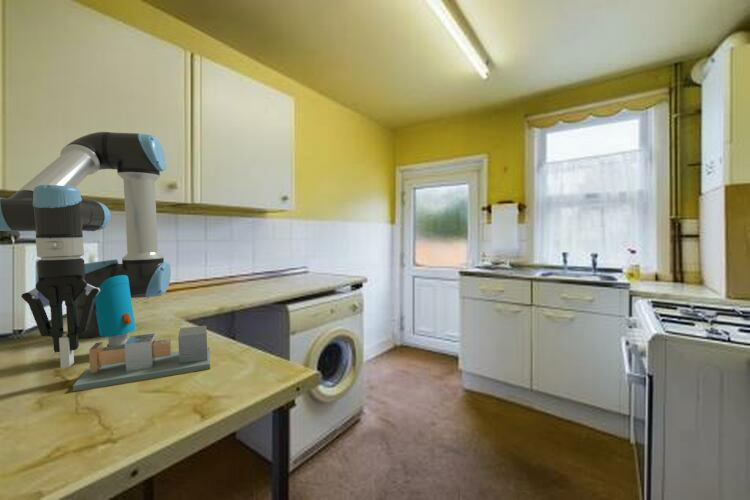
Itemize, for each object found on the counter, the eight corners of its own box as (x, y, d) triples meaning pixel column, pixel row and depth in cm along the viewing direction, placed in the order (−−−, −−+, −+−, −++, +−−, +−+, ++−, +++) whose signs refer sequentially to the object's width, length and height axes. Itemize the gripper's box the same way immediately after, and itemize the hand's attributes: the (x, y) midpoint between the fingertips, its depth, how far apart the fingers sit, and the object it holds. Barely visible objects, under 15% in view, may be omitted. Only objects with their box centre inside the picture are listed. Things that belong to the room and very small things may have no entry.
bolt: (97, 364, 80) (96, 342, 80) (171, 354, 87) (171, 333, 86) (90, 373, 75) (89, 349, 75) (169, 361, 82) (169, 339, 82)
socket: (181, 354, 89) (180, 328, 88) (207, 350, 91) (206, 325, 91) (179, 364, 82) (178, 336, 81) (207, 360, 84) (206, 333, 84)
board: (91, 368, 83) (91, 363, 83) (209, 351, 94) (209, 347, 94) (73, 391, 71) (72, 385, 71) (209, 368, 82) (209, 363, 82)
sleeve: (131, 362, 84) (130, 336, 83) (156, 358, 86) (154, 333, 85) (126, 372, 78) (124, 344, 77) (152, 368, 80) (151, 341, 80)
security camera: (113, 272, 98) (142, 273, 96) (116, 346, 99) (146, 348, 97) (82, 276, 90) (114, 277, 88) (87, 356, 91) (118, 359, 89)
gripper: (11, 260, 68) (19, 377, 69) (94, 258, 74) (99, 365, 75) (28, 258, 75) (35, 364, 76) (103, 255, 81) (108, 355, 82)
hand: (67, 365), depth 76 cm, fingers closed
